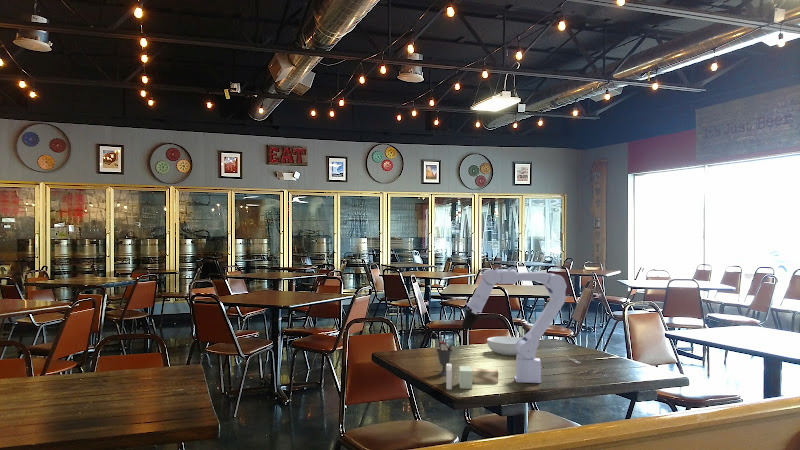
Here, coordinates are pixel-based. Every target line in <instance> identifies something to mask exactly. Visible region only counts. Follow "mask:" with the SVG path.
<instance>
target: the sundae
mask: <svg viewBox="0 0 800 450" xmlns="http://www.w3.org/2000/svg"><path fill="white" fill-rule="evenodd" d="M438 339H441V336H439V337H438ZM436 351H437V354H438V362H439V364H440V365H441V366H442V370H441V372H438V373H437V375H439V376H446V367H447V364H450V359H451V353H452V352H453V349H452V344H451V345H449V343H447V342H445V341H444V340H443V339H441V341H440V342H439V345H438V346H437V348H436Z"/></svg>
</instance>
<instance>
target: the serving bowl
mask: <svg viewBox="0 0 800 450" xmlns="http://www.w3.org/2000/svg"><path fill="white" fill-rule="evenodd" d="M521 338H522V337H520V336H518V337H517V336H492V337H491V336H490V337H488V338H487V339H486V341H487V342H486V343H487V346H488V348H489V349H490V350H491V351H492V352H493V353H496V354H500V355H502V356H507V355H508V356H511V357H512V356H517V354H518V352H517V351H516V348H515V345H516V342H517V341H518V340H520V339H521Z"/></svg>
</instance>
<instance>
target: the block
mask: <svg viewBox="0 0 800 450" xmlns="http://www.w3.org/2000/svg"><path fill="white" fill-rule="evenodd" d="M472 369H473V368H472V366H470V365H468V366H467V365H464V366H463V365H459V371H458V372H459V375H458V376H459V377H458V378H459V389H464V390H465V389H469V390H470V389H473V382H472Z"/></svg>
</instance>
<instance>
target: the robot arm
mask: <svg viewBox="0 0 800 450" xmlns="http://www.w3.org/2000/svg"><path fill="white" fill-rule="evenodd" d="M520 281H521V282H522V281H523V282H524V281H525V282H526V281H527V282H539V283H540V284H543V285H544V287H545V288H546V290H547V291H548V296H549V301H548V303H547V304H546V305H545V306H544V308H543V309H542V311H541V313H540V314H539V316H538V317H537V319H536V320H535V322H534V323H533V324H532V326H531V328H530V329H529V330H528V332H527V333H526V332H525V334H524V335H523V336H522V337H520V338H521V339H520V340H518V341H517V342H516V345H515V348H516V351H517V352H518V354H517V355H515V357H516V359H515V360H516V361H515V363H516V365H515V367H516V368H515V371H516V373H515V376H513V378H514V380H515V383H524V384H525V383H527V384H528V383H530V384H532V383H533V384H540V383H541V384H542V362H541V358H539V357H536V354H537V349H538V348H539V345H540V340H541V338H542V337H543V335H544V334H545V332H546V331H547V330H548V328H549V327H550V325H551V323H552V322H553V320H554V319H555V317H556V316H557V315H558V314H559V312H560V310H561V308H562V307H563V306H564V304H565V302H566V290H567V288H568V286H567V283H566V280H565V278H564V277H563V276H562V275H561V274H555V273H551V272H549V273H548V272H542V271H529V272H528V271H527V272H518V271H517V270H516V269H514V268H513V269H512V267H508V268H507V269H499V268H497V267H496V268H495V269H486V270H484V271H483V272H482V274H481V279H480V281H479V283H478V285H477V287H476V288H475V291H474V292H473V295H471V296H472V297H471V299H470V301H469V303H468V302H465V303H464V304H465V305H466V306H467V307H468V308H469V309H468V308H465V311H464V312H465V313H464V317H463V320H462V325H461V327H462V329H463V330H465V331H469V329H470V328H471V327H472V326H473V324H474V323H476V321H478V320H479V319H480V316H479V314H478V313H482V312H483V309H484V307H485V305H486V303H487V301H488V299H489V297H490V296H491V293H492V291H493V288H494V286H495V285H496V284H498V285H515V284H516V283H517V282H520Z"/></svg>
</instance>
